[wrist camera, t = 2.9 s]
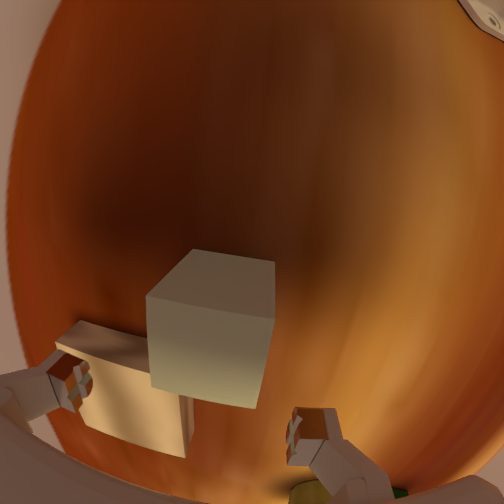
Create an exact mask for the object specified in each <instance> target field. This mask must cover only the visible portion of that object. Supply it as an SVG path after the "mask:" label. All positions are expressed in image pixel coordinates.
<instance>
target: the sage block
mask: <svg viewBox="0 0 504 504" xmlns="http://www.w3.org/2000/svg"><path fill="white" fill-rule="evenodd" d="M146 321H147V340H148V355H149V367H150V378H151V387H153V388H156V389H160V390H164V391H167V392H171V393H175V394H179V395H183V396H187V397H192V398H196V399H201V400H206V401H211V402H216V403H221V404H227V405H233V406H239V407H246V408H253V409H255V408H256V404H257V400H258V396H259V391H260V387H261V383H262V378H263V374H264V370H265V365H266V361H267V356H268V351H269V347H270V342H271V338H272V333H273V328H274V323H275V262H274V261H267V260H261V259H255V258H248V257H242V256H236V255H229V254H223V253H217V252H210V251H204V250H198V249H193V250H191V251H190V252H189V253H188V254H187V255H186V256H185V257H184V258H183V259H182V260H181V261H180V262H179V263H178V264H177V265H176V266H175V267H174V268H173V269H172V270H171V271H170V272H169V273H168V274H167V275H166V276H165V277H164V278H163V279H162V280H161V281H160V282H159V283H158V284H157V285H156V286H155V287H154V288H153V289H152V290H151V291H150V292H149V293H148V294H147V295H146Z"/></svg>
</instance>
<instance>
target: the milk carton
mask: <svg viewBox="0 0 504 504" xmlns="http://www.w3.org/2000/svg"><path fill="white" fill-rule="evenodd" d="M392 490H393V494H394V497H395V499H398V498H402V497H406V496H409V495H408V492H407V491H404V490H399V489H395V488H392Z"/></svg>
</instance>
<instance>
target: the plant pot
mask: <svg viewBox="0 0 504 504" xmlns="http://www.w3.org/2000/svg"><path fill="white" fill-rule="evenodd" d="M331 498H332V495H331V494H330V493H329V492H328V490H327V489H326V488H325V487H324V486H323V484H322V483H321V482H320V481H319V480H313V481H308V482H304V483H301V484H299V485H296V486H295V487H294V489H293V490H291V492H290V498H289V503H288V504H326V503H327V502H328V501H329V500H330V499H331Z"/></svg>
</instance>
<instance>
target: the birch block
mask: <svg viewBox="0 0 504 504" xmlns="http://www.w3.org/2000/svg"><path fill="white" fill-rule="evenodd" d="M55 343H56V346H57V350H58V349H60V350H62V351H65V352H67V353H69V354H72V355H74V356H76V357H78V358H81V359H83V360H86V361H87V362H88V363H89V366H90V369H89V371H88V372H89V373H90V375H91V376H92V379H93V388H92V391H91V393H90V395H89V396H88V397H86V398H83V404H82V405H81V407H80V408H79V411H80V413H81V415H82V417H83V420H84V422H85V424H86V425H88V426H90V427H92V428H94V429H97V430H99V431H102V432H104V433H107V434H109V435H112V436H114V437H117V438H120V439H122V440H125V441H128V442H131V443H134V444H137V445H140V446H143V447H146V448H149V449H152V450H156V451H159V452H163V453H167V454H170V455H174V456H178V457H183V458H186V454H187V451H188V448H189V445H190V441H191V438H192V435H193V432H194V409H193V398H192V397H187V396H183V395H179V394H175V393H171V392H167V391H164V390H160V389H156V388H153V387H151V378H150V367H149V355H148V340H147V338H144V337H140V336H135V335H131V334H128V333H124V332H120V331H116V330H113V329H109V328H105V327H102V326H98V325H95V324H92V323H88V322H85V321H82V320H79V321H78V322H77V323H76V324H75V325H74V326H72V327H71V328H70V329H69V330H68V331H67V332H66V333H64V334H63V335H62V336H61V337H60V338H59V339H58V340H56V341H55Z"/></svg>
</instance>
